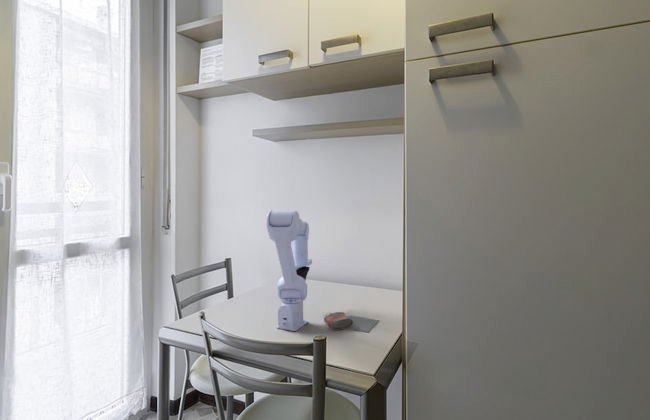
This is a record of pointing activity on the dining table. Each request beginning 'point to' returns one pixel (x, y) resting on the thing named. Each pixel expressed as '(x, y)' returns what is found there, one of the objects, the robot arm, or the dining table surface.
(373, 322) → the mat
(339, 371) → the dining table surface
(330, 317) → the lighter
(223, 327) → the dining table surface
